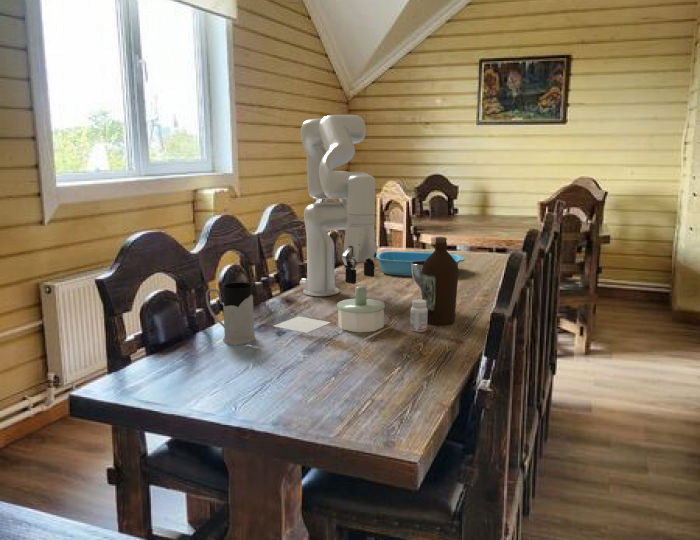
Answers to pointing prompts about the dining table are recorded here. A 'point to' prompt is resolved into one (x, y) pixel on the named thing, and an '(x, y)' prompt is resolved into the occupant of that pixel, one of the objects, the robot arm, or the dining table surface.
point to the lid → (360, 303)
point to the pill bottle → (418, 315)
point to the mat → (302, 324)
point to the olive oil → (440, 284)
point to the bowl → (361, 321)
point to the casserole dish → (404, 261)
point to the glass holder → (236, 313)
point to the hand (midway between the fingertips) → (360, 279)
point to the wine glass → (417, 273)
